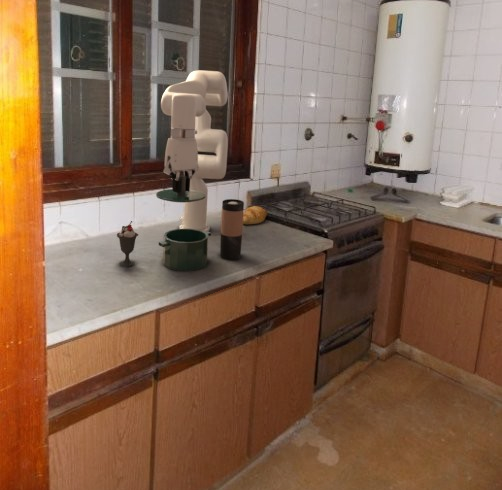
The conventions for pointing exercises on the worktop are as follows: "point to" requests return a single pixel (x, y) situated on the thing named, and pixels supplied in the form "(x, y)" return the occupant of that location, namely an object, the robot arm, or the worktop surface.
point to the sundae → (127, 243)
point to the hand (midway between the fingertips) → (181, 190)
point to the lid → (183, 194)
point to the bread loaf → (254, 215)
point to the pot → (185, 249)
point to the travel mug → (231, 229)
